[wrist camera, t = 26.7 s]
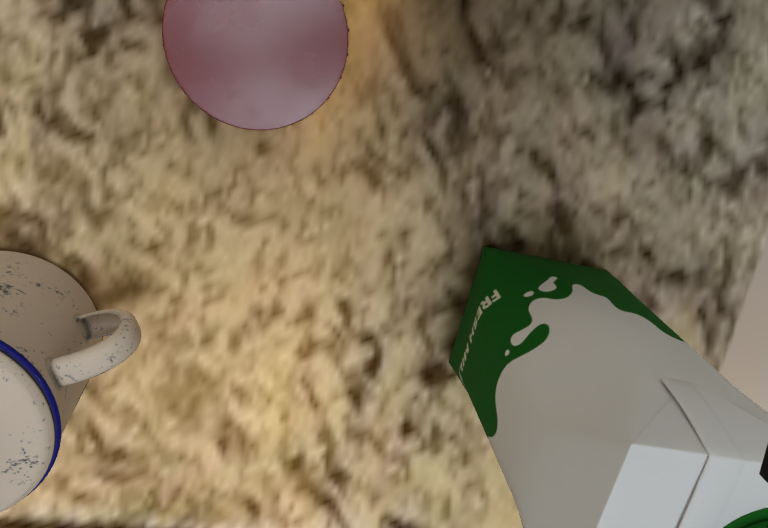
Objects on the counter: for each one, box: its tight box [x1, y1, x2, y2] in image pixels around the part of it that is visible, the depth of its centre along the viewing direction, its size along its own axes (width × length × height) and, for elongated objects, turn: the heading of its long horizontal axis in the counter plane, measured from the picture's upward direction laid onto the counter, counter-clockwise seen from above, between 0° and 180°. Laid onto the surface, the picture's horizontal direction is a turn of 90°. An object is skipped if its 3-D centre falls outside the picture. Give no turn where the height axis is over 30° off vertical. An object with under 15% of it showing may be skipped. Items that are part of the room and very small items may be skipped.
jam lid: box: [162, 0, 349, 130], centre depth 32 cm, size 8×8×2 cm
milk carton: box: [449, 246, 768, 528], centre depth 30 cm, size 9×9×20 cm
